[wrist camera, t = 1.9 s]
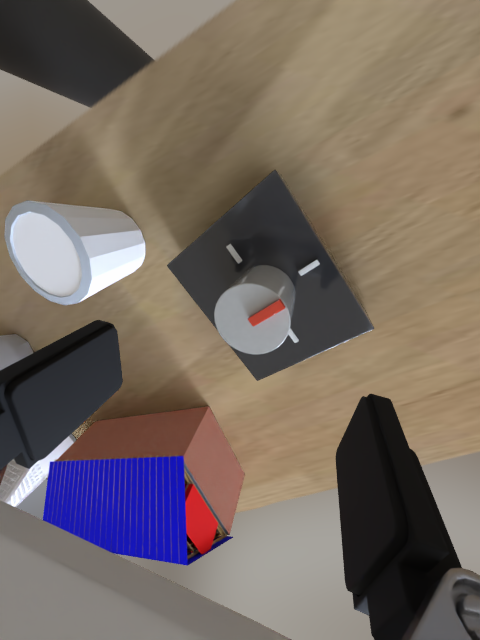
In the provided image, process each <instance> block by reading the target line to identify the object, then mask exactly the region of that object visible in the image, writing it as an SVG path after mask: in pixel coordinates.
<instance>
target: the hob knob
mask: <svg viewBox="0 0 480 640" xmlns="http://www.w3.org/2000/svg"><path fill="white" fill-rule="evenodd" d="M295 297H296V294H295V288H294V285H293V283H292V281H291V279H290V278H289V277H288V276H287V275H286V274H285V273H284V272H283V271H281V270H280V269H278V268H275V267H273V266H268V265H260V266H255V267H252V268H250V269H248V270H246V271H245V272H244V273H243V274H242V275H241V276H240V277H239V278H238V279H237V280H236V281H235V282H234V283H233V284H232V285H231V286H230V287H229V288H228V289H227V290H226V291H225V292H224V293H223V294H222V295H221V296H220V298H219V299H218V301H217V303H216V306H215V311H214V318H215V324H216V327H217V330H218V332H219V334H220V335H221V337H222V338H223V339H224V340H225V341H226V342H227V343H228V344H229V345H230V346H232V347H233V348H235V349H237V350H239V351H241V352H244V353H248V354H264V353H268V352H270V351H273V350H274V349H276V348H278V347H279V346H280V345H281V344H282V343H283V342H284V341H285V339H286V338H287V336H288V333H289V330H290V325H291V320H292V315H293V309H294V304H295Z"/></svg>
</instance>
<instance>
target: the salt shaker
mask: <svg viewBox="0 0 480 640" xmlns="http://www.w3.org/2000/svg"><path fill="white" fill-rule="evenodd" d="M32 353H34V352H33V350H32V348H31V347H30V345H29V343H28V342H27V341H26V340H24V339H23V338H21V337H20V336H18V335H17V334H12V335H2V336H0V370H2V369H4V368H6V367H8V366H10V365H11V364H13V363H15V362H17V361H19V360H21V359H23V358H25V357H27V356H29V355H31V354H32Z"/></svg>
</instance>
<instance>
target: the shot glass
mask: <svg viewBox="0 0 480 640" xmlns="http://www.w3.org/2000/svg"><path fill="white" fill-rule="evenodd" d="M5 240H6V244H7V248H8V251H9V255H10V258H11V259H12V261H13V263H14V265H15V267H16V268H17V270H18V272H19V274H20V275H21V276H22V278H23V279H24V280H25V281H26V282H27V283H28V284H29V285H30V286H31V288H32V289H33V290H34V291H36V292H37V293H39V294H40V295H42V296H43V297H45V298H46V299H47V300H49V301H52V302H55V303H59V304H62V305H69V304H75V303H79V302H81V301H82V300H84V299H86V298H88V297H90V296H91V295H93V294H95V293H97V292H99V291H100V290H102V289H104V288H106V287H108V286H109V285H111V284H113V283H115V282H116V281H118V280H120V279H122V278H124V277H125V276H127V275H129V274H131V273H133V272H134V271H135V270H137V269H138V268H139V267H140V266H141V265H142V263H143V260H144V258H145V241H144V238H143V235H142V233H141V230H140V229H139V227H138V226H137V224H136V223H135V222H134V220H133V219H132V218H130V217H129V216H128V215H126V214H125V213H123V212H122V211H118V210H113V209H106V208H96V207H87V206H77V205H67V204H57V203H48V202H38V201H28V200H27V201H25V202H22V203H20V204H17V205H14V206H13V207H12V209H11V211H10V212H9V214H8V216H7V217H6V219H5Z"/></svg>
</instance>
